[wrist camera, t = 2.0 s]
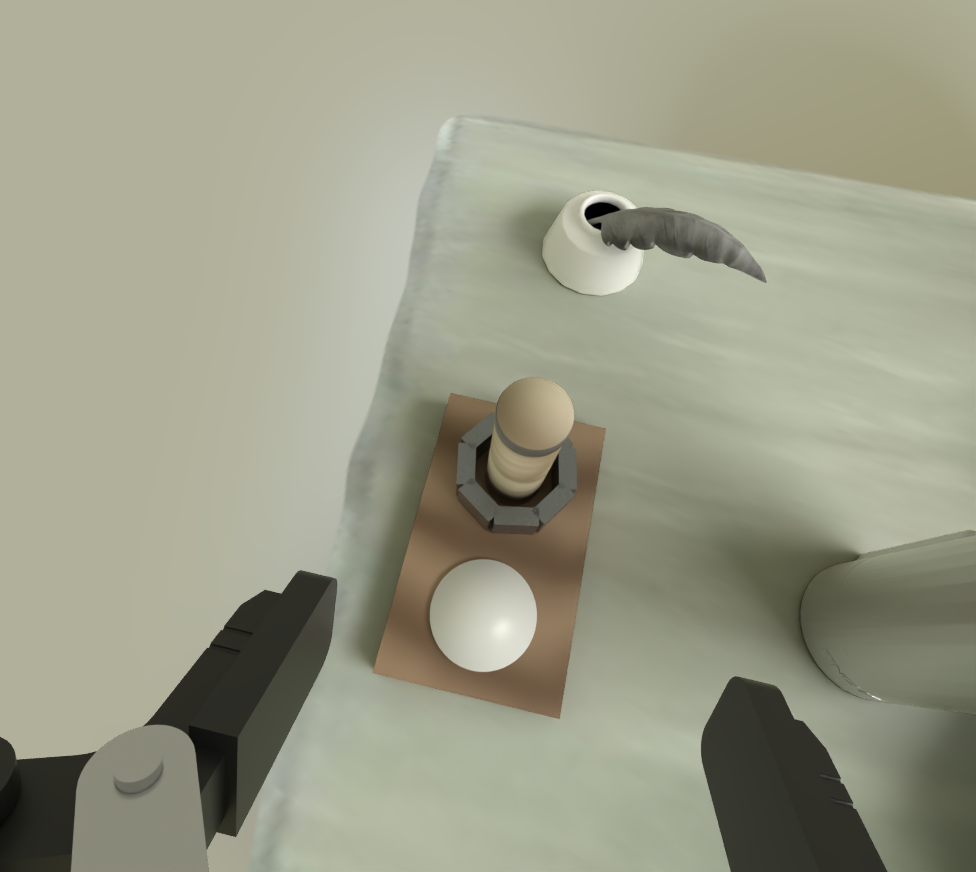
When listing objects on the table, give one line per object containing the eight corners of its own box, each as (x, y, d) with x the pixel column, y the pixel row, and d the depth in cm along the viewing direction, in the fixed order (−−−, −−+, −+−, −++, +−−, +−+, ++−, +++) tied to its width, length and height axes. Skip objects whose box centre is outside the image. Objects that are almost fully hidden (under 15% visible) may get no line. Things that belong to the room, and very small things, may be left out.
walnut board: (450, 403, 43) (450, 393, 42) (599, 438, 43) (605, 428, 41) (376, 671, 36) (372, 672, 34) (554, 715, 36) (559, 718, 34)
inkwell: (579, 198, 52) (606, 100, 42) (744, 302, 49) (812, 221, 39) (520, 259, 49) (536, 167, 40) (692, 373, 46) (753, 304, 36)
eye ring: (514, 406, 41) (518, 389, 39) (590, 482, 40) (600, 469, 37) (434, 475, 39) (432, 461, 36) (511, 558, 37) (516, 551, 35)
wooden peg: (513, 441, 40) (535, 362, 29) (552, 480, 39) (591, 414, 28) (472, 476, 39) (479, 409, 28) (512, 518, 38) (535, 465, 27)
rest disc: (485, 538, 38) (486, 537, 37) (558, 616, 36) (558, 616, 36) (407, 611, 36) (407, 610, 35) (480, 697, 34) (480, 697, 34)
